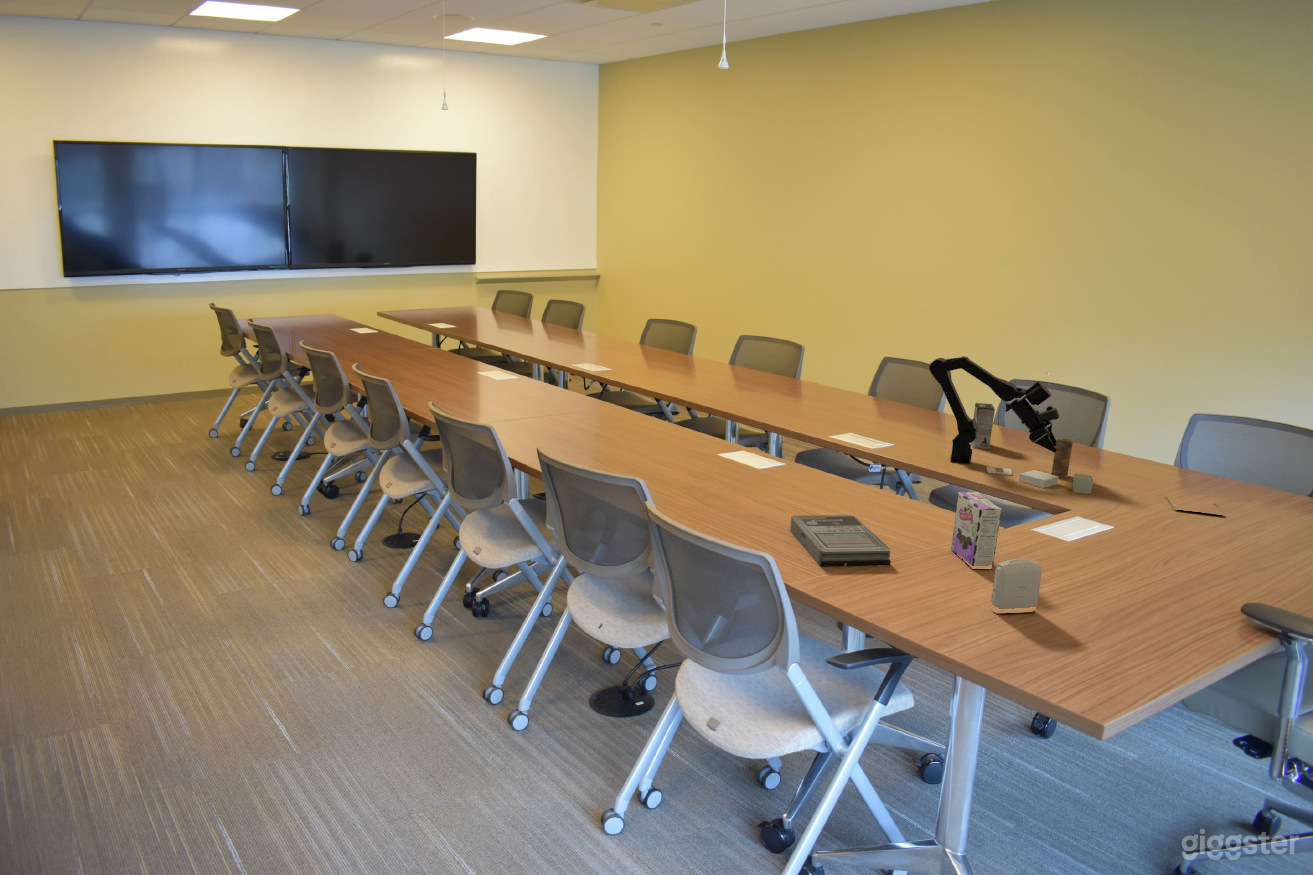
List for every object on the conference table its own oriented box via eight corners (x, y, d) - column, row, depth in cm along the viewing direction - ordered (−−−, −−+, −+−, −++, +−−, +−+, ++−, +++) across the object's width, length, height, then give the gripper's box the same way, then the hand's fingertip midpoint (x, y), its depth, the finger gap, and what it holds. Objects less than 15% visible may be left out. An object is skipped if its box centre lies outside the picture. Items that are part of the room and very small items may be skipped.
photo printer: (996, 616, 205) (1004, 564, 202) (986, 607, 209) (994, 556, 206) (1038, 614, 206) (1046, 562, 203) (1028, 606, 210) (1035, 555, 207)
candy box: (949, 550, 244) (957, 490, 240) (971, 550, 245) (979, 491, 241) (971, 570, 231) (979, 507, 227) (994, 570, 231) (1002, 508, 227)
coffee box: (969, 442, 363) (974, 402, 359) (986, 443, 362) (992, 403, 358) (972, 447, 354) (978, 407, 350) (990, 449, 353) (995, 408, 349)
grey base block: (1018, 482, 312) (1019, 473, 311) (1032, 478, 317) (1033, 469, 316) (1043, 489, 305) (1044, 480, 304) (1057, 485, 310) (1058, 476, 309)
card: (987, 472, 320) (987, 470, 320) (986, 468, 326) (986, 465, 326) (1011, 475, 318) (1012, 473, 318) (1010, 470, 324) (1010, 468, 323)
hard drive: (820, 568, 229) (821, 551, 228) (788, 531, 255) (790, 515, 254) (890, 566, 232) (891, 550, 231) (852, 530, 258) (853, 515, 257)
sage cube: (1074, 492, 301) (1076, 477, 300) (1072, 488, 306) (1074, 473, 305) (1090, 494, 300) (1093, 479, 299) (1088, 490, 305) (1090, 475, 304)
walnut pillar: (1051, 476, 318) (1056, 440, 315) (1052, 473, 323) (1057, 437, 320) (1066, 479, 316) (1072, 442, 313) (1067, 475, 321) (1073, 439, 317)
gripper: (1044, 404, 308) (1075, 440, 306) (1048, 395, 324) (1078, 429, 322) (1016, 424, 314) (1046, 460, 311) (1022, 414, 330) (1051, 448, 328)
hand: (1056, 448), depth 318 cm, fingers open, 9 cm apart
